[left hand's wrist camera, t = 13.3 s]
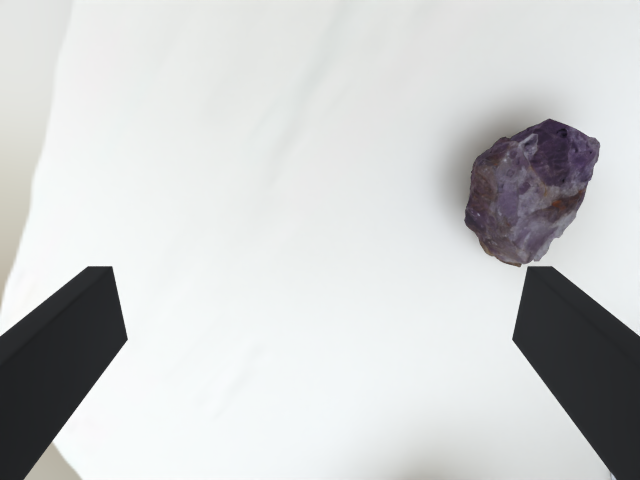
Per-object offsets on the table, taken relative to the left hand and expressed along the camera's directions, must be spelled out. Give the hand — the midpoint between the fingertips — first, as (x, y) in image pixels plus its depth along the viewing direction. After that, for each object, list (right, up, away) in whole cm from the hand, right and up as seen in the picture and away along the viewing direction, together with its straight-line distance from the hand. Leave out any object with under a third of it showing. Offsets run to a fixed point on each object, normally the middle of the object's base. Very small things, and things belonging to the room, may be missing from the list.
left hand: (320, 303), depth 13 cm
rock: (+16, +7, +24) cm, 30 cm away
